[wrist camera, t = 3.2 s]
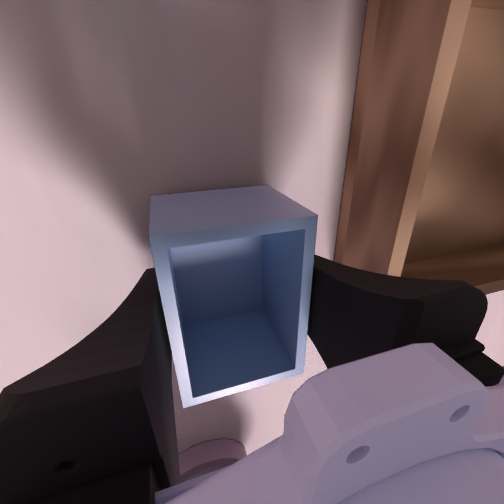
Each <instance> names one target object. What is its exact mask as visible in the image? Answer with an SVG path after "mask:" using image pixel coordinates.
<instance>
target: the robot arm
mask: <svg viewBox="0 0 504 504" xmlns="http://www.w3.org/2000/svg"><path fill="white" fill-rule="evenodd" d="M487 305H488V302H487V298H486V294H485V293H484V292H483V291H482V290H480V289H478V288H476V287H475V286H473V285H471V284H469V283H467V282H465V281H461V280H431V279H418V278H407V277H399V276H392V275H386V274H380V273H374V272H370V271H365V270H361V269H357V268H353V267H350V266H346V265H343V264H340V263H337V262H334V261H331V260H328V259H325V258H323V257H320V256H317V255H315V254H314V264H313V275H312V286H311V297H310V308H309V319H308V330H307V334H308V336H309V337H310V339H311V340H312V342H313V343H314V345H315V347H316V348H317V350H318V352H319V354H320V356H321V357H322V359H323V361H324V363H325V365H326V366H327V368H328V369H327V370H325V371H323V372H321V373H319V374H317V375H315V376H313V377H311V378H309V379H308V380H307V381H306V382H305V383H304V384H303V385H301V386H300V387H299V388H298V389H297V390H296V391H295V392H294V393H293V395H292V398H291V400H290V403H289V405H288V408H287V410H286V413H285V418H284V433H283V435H282V436H280V437H278V438H277V439H275V440H273V441H271V442H270V443H268V444H266V445H265V446H263V447H261V448H259V449H258V450H256V451H254V452H253V453H251V454H249V455H247V456H246V457H244V458H242V459H241V460H239V461H237V462H235V463H234V464H232V465H230V466H227V467H224V468H221V469H219V470H216V471H213V472H210V473H208V474H205V475H202V476H199V477H196V478H194V479H191V480H188V481H185V482H183V483H181V479H180V469H179V459H178V449H177V439H176V428H175V417H174V406H173V394H172V379H171V367H172V350H171V345H170V340H169V335H168V330H167V326H166V321H165V316H164V311H163V306H162V301H161V296H160V291H159V286H158V281H157V276H156V271H155V268H150V269H146V271H145V272H144V273H143V275H142V276H141V278H140V280H139V281H138V283H137V284H136V286H135V287H134V288H133V290H132V291H131V292H130V294H129V295H128V296H127V298H126V299H125V300H124V301H123V302H122V304H121V305H120V306H119V307H118V308H117V310H116V311H115V312H114V313H113V314H112V315H111V316H110V317H109V318H108V319H106V320H105V321H104V322H103V323H102V324H101V325H100V326H99V327H98V328H96V329H95V330H94V331H93V332H91V333H90V334H89V335H88V336H86V337H85V338H84V339H83V340H81V341H80V342H79V343H77V344H76V345H75V346H73V347H72V348H70V349H69V350H67V351H66V352H65V353H63V354H62V355H60V356H58V357H57V358H55V359H54V360H52V361H51V362H49V363H47V364H46V365H44V366H43V367H41V368H39V369H37V370H35V371H34V372H32V373H30V374H28V375H27V376H25V377H23V378H21V379H19V380H18V381H16V382H14V383H12V384H10V385H8V386H7V387H5V388H4V389H3V390H2V392H1V393H0V504H504V366H503V367H502V366H500V365H499V364H498V363H496V362H495V361H493V360H492V359H491V358H489V357H488V356H487V355H485V354H484V353H482V351H484V349H485V347H484V345H483V344H482V343H480V342H479V341H477V340H476V339H475V337H476V335H477V333H478V331H479V328H480V326H481V324H482V322H483V319H484V317H485V314H486V311H487Z"/></svg>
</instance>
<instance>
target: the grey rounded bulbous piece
mask: <svg viewBox="0 0 504 504" xmlns="http://www.w3.org/2000/svg"><path fill="white" fill-rule="evenodd" d="M246 456H247V455H246V451H245V448H244V447H243V446H242V445H241V444H240V443H239V442H237V441H234V440H231V439H217V440H211V441H206V442H203V443H201V444H198V445H195V446H193V447H191V448H189V449H187V450H186V451H184V452H182V453H181V454H179V455H178V459H179V469H180V479H181V483H183V482H185V481H188V480H191V479H194V478H196V477H199V476H202V475H205V474H208V473H210V472H213V471H216V470H219V469H221V468H224V467H227V466H230V465H232V464H234V463H235V462H237V461H239V460H241V459H242V458H244V457H246Z"/></svg>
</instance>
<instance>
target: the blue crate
mask: <svg viewBox="0 0 504 504" xmlns="http://www.w3.org/2000/svg"><path fill="white" fill-rule="evenodd" d="M317 220H318V215H317V214H315V213H313V212H312V211H310V210H308V209H307V208H305V207H303V206H302V205H300V204H298V203H297V202H295V201H293V200H292V199H290V198H288V197H287V196H285V195H283V194H282V193H280V192H278V191H277V190H275V189H273V188H272V187H270V186H269V185H260V186H249V187H238V188H227V189H216V190H205V191H195V192H184V193H173V194H162V195H151V201H150V221H149V241H150V246H151V251H152V256H153V261H154V266H155V271H156V276H157V281H158V286H159V291H160V296H161V301H162V306H163V311H164V316H165V321H166V326H167V330H168V335H169V340H170V345H171V350H172V355H173V360H174V365H175V370H176V375H177V380H178V385H179V390H180V395H181V400H182V405H183V408H187V407H190V406H193V405H197V404H200V403H204V402H207V401H210V400H214V399H217V398H221V397H224V396H227V395H231V394H234V393H238V392H241V391H244V390H248V389H251V388H255V387H258V386H262V385H265V384H268V383H272V382H275V381H279V380H282V379H285V378H289V377H292V376H296V375H299V374H302V373H304V363H305V352H306V341H307V330H308V319H309V308H310V297H311V286H312V275H313V264H314V253H315V242H316V231H317Z"/></svg>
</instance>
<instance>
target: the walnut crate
mask: <svg viewBox="0 0 504 504" xmlns="http://www.w3.org/2000/svg"><path fill="white" fill-rule="evenodd" d="M334 262H337V263H340V264H343V265H346V266H350V267H353V268H357V269H361V270H365V271H370V272H374V273H380V274H386V275H392V276H399V277H407V278H418V279H431V280H461V281H465V282H467V283H469V284H471V285H473V286H475V287H476V288H478V289H480V290H482V291H483V292H484V293H485V294H489V293H493V292H497V291H501V290H504V0H368V2H367V9H366V17H365V25H364V32H363V40H362V48H361V56H360V63H359V71H358V79H357V86H356V94H355V102H354V110H353V117H352V125H351V133H350V141H349V148H348V156H347V164H346V171H345V179H344V187H343V195H342V202H341V210H340V218H339V225H338V233H337V241H336V249H335V256H334Z"/></svg>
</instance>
